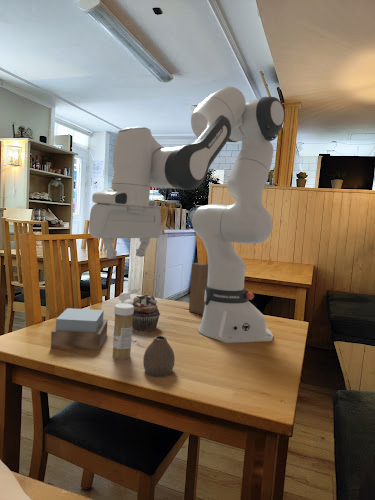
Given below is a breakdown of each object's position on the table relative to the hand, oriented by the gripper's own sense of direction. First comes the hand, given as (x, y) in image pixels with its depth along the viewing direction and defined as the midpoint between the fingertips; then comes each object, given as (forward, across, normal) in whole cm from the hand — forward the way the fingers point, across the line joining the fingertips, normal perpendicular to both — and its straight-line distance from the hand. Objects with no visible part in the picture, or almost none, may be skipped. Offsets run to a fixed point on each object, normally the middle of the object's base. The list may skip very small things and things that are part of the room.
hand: (126, 257), depth 87 cm
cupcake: (+25, -21, -12) cm, 35 cm away
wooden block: (+25, -50, -10) cm, 56 cm away
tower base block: (+25, 0, -16) cm, 30 cm away
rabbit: (+25, -27, -24) cm, 44 cm away
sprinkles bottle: (+25, 0, 0) cm, 25 cm away
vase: (+25, 0, +12) cm, 28 cm away
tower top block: (+20, 0, -16) cm, 26 cm away
